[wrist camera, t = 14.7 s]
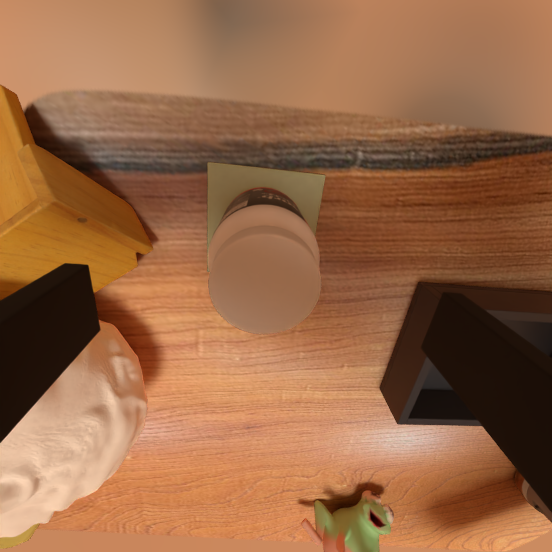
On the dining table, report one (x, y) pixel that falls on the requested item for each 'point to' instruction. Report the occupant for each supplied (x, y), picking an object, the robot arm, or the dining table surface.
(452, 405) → the tote
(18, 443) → the bust
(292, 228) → the pill bottle
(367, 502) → the frog
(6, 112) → the orange boxy piece
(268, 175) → the mat
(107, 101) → the dining table surface
